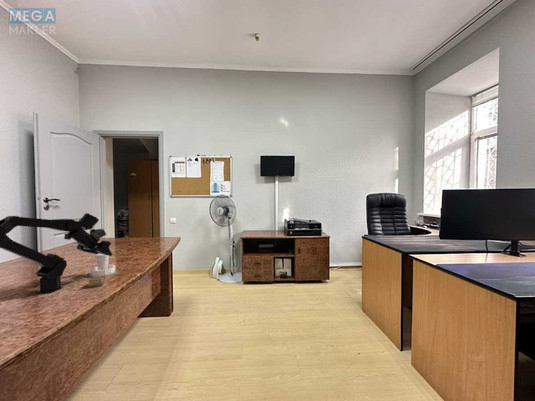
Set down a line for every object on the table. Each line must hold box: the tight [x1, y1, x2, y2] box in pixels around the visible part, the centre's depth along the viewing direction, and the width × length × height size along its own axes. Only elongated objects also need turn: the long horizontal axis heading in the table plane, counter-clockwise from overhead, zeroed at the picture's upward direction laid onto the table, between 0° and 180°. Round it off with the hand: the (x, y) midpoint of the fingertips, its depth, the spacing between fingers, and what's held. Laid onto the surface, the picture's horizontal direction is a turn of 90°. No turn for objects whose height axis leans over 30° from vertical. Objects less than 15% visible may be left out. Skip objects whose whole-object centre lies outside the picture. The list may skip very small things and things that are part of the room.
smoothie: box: [94, 253, 110, 270], centre depth 125 cm, size 6×6×14 cm
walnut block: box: [88, 275, 107, 288], centre depth 109 cm, size 5×5×4 cm
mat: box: [87, 268, 119, 279], centre depth 126 cm, size 12×12×1 cm
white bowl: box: [89, 264, 116, 277], centre depth 126 cm, size 11×11×3 cm
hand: (105, 254), depth 127 cm, fingers open, 9 cm apart
